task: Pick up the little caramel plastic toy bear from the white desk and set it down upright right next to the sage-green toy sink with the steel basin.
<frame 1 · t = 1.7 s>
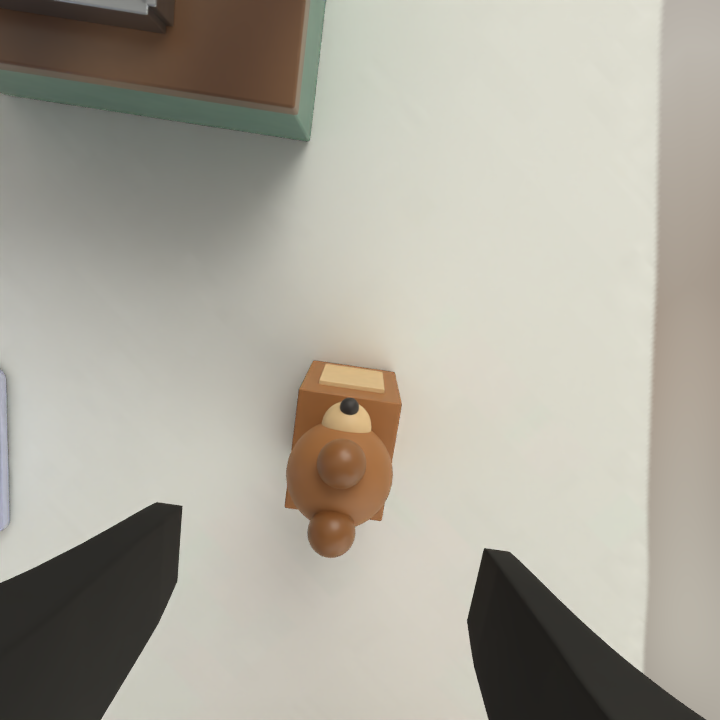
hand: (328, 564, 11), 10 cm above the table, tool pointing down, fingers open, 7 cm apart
toy bear: (346, 415, 21), on the table
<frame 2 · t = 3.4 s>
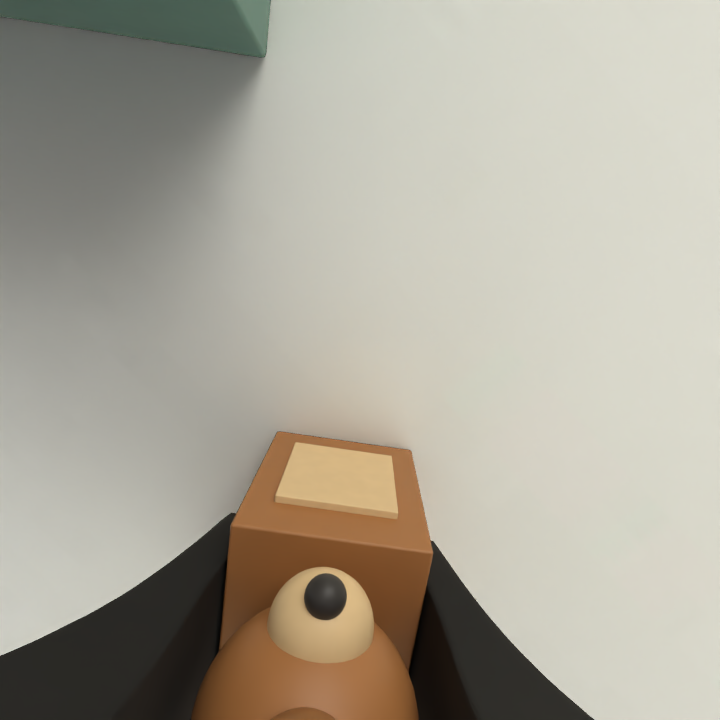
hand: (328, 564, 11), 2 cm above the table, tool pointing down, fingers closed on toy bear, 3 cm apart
toy bear: (333, 517, 13), on the table, touching gripper
when the fingers open (2 cm above the table, at t = 7.7 s): toy bear stays where it is, on the table.
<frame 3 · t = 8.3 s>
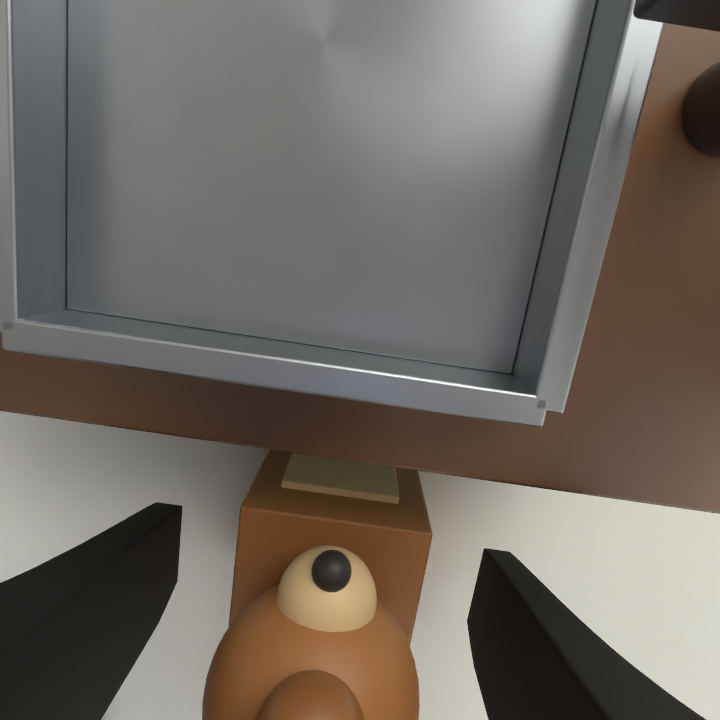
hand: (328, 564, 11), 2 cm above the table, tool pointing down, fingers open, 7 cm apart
toy bear: (335, 505, 13), on the table
toy sink: (368, 151, 11), on the table
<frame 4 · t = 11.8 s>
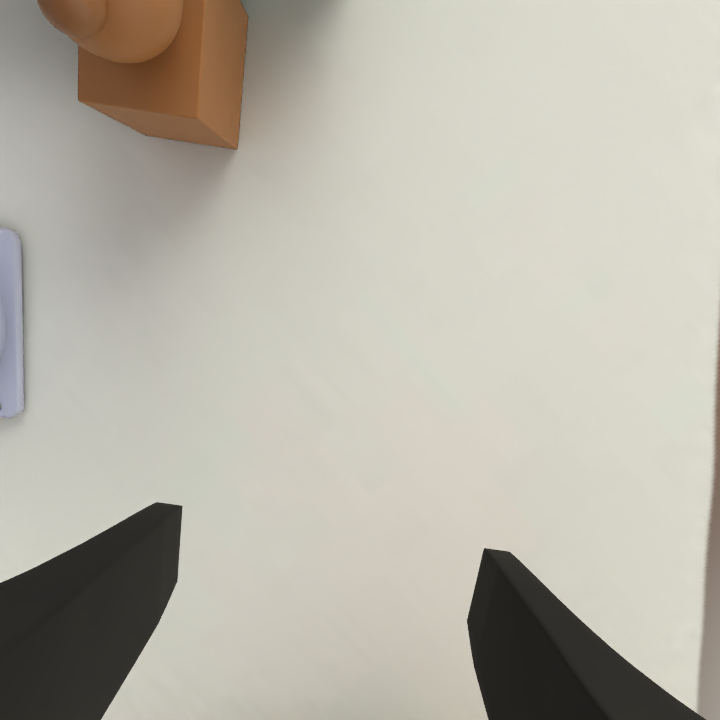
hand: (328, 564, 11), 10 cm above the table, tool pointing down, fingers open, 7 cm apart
toy bear: (195, 77, 18), on the table
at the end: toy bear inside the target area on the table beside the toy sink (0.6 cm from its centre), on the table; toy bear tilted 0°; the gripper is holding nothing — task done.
